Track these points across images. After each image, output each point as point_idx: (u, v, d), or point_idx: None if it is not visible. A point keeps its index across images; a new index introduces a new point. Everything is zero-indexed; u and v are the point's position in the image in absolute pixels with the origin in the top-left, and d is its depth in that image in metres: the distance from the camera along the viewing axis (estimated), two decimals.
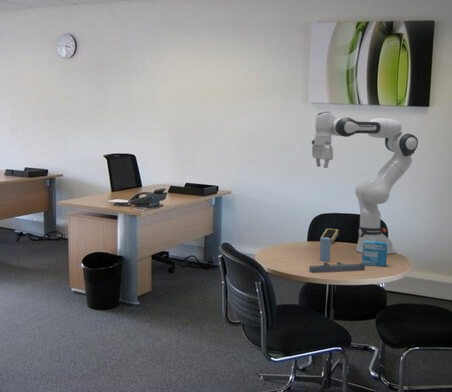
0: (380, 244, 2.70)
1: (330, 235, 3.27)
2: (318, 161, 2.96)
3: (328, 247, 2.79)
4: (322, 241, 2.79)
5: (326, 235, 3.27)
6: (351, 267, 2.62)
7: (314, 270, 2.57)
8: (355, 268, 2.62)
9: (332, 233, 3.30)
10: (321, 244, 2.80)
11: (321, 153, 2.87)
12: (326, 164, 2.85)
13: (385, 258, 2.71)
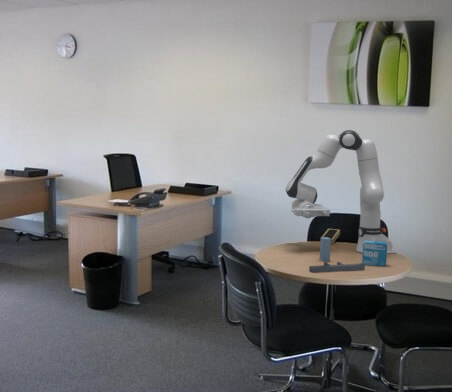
0: (380, 244, 2.70)
1: (331, 235, 3.27)
2: None
3: (328, 247, 2.79)
4: (322, 241, 2.79)
5: (327, 235, 3.27)
6: (351, 267, 2.62)
7: (314, 270, 2.57)
8: (355, 268, 2.62)
9: (333, 233, 3.30)
10: (321, 244, 2.80)
11: None
12: (306, 213, 2.90)
13: (385, 258, 2.71)
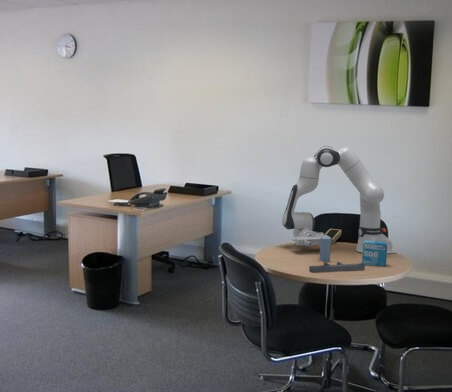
0: (380, 244, 2.70)
1: (331, 235, 3.27)
2: None
3: (328, 247, 2.79)
4: (322, 241, 2.79)
5: (327, 235, 3.27)
6: (351, 267, 2.62)
7: (314, 270, 2.57)
8: (355, 268, 2.62)
9: (334, 233, 3.29)
10: (321, 244, 2.80)
11: None
12: (306, 243, 2.90)
13: (385, 258, 2.71)
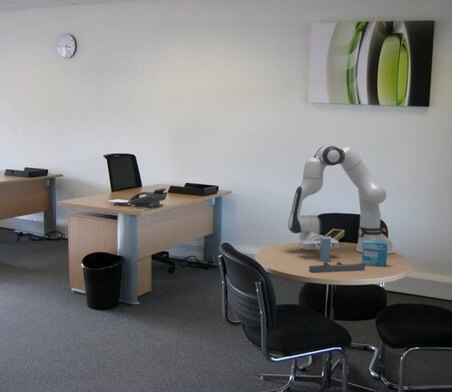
0: (380, 244, 2.70)
1: (333, 235, 3.26)
2: None
3: (328, 247, 2.79)
4: (322, 241, 2.79)
5: (329, 235, 3.27)
6: (351, 267, 2.62)
7: (314, 270, 2.57)
8: (355, 268, 2.62)
9: (336, 233, 3.29)
10: (321, 244, 2.80)
11: None
12: (317, 247, 2.80)
13: (385, 258, 2.71)
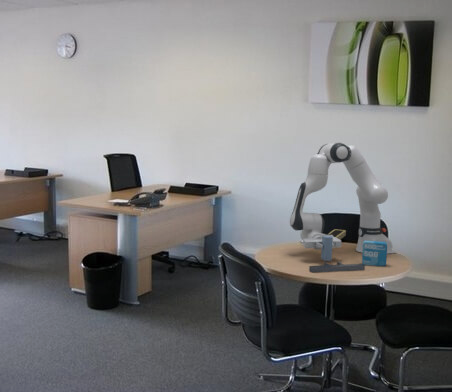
0: (380, 244, 2.70)
1: (334, 235, 3.26)
2: None
3: (330, 246, 2.70)
4: (324, 239, 2.71)
5: None
6: (351, 267, 2.62)
7: (314, 270, 2.57)
8: (355, 268, 2.62)
9: (337, 234, 3.28)
10: (323, 242, 2.72)
11: None
12: (319, 245, 2.72)
13: (385, 258, 2.71)
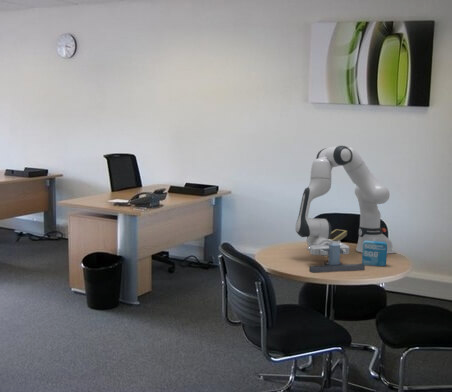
0: (380, 244, 2.70)
1: (334, 236, 3.25)
2: None
3: (338, 254, 2.63)
4: (331, 248, 2.63)
5: (330, 235, 3.27)
6: (351, 267, 2.62)
7: (314, 270, 2.57)
8: (355, 268, 2.62)
9: (338, 234, 3.28)
10: (330, 251, 2.64)
11: None
12: (323, 252, 2.64)
13: (385, 258, 2.71)
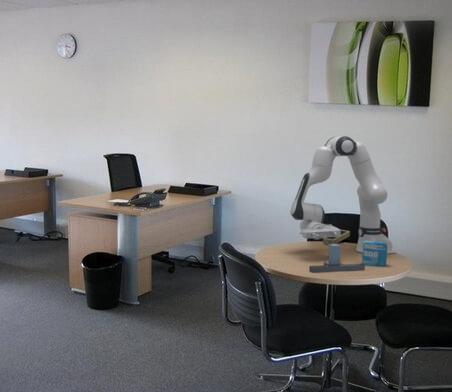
0: (380, 244, 2.70)
1: None
2: None
3: (338, 254, 2.63)
4: (331, 248, 2.63)
5: None
6: (351, 267, 2.62)
7: (314, 270, 2.57)
8: (355, 268, 2.62)
9: (340, 234, 3.27)
10: (330, 251, 2.64)
11: None
12: (315, 236, 2.75)
13: (385, 258, 2.71)
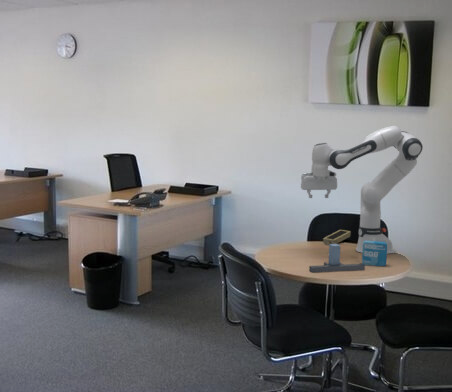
0: (380, 244, 2.70)
1: (336, 236, 3.25)
2: (327, 192, 2.94)
3: (338, 254, 2.63)
4: (331, 248, 2.63)
5: (332, 236, 3.26)
6: (351, 267, 2.62)
7: (314, 270, 2.57)
8: (355, 268, 2.62)
9: (340, 234, 3.27)
10: (330, 251, 2.64)
11: None
12: (309, 194, 2.91)
13: (385, 258, 2.71)
